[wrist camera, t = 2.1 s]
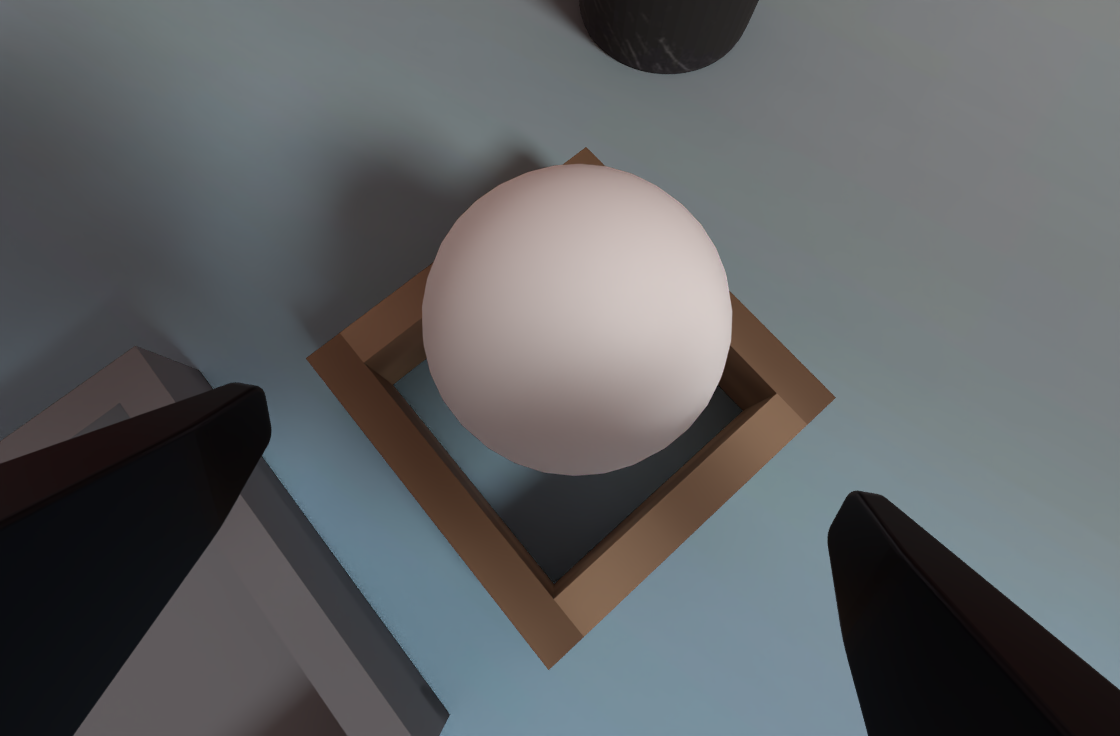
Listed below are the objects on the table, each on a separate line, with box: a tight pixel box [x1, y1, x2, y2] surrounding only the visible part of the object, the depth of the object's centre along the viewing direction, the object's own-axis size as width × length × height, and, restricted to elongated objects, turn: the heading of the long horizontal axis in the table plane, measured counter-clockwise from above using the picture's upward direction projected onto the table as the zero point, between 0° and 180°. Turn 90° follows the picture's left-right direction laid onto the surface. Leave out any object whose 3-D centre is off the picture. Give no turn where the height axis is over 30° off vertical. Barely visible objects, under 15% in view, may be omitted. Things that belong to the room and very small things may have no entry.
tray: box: [0, 346, 450, 736], centre depth 15 cm, size 16×14×3 cm
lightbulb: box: [422, 164, 732, 476], centre depth 14 cm, size 6×6×11 cm
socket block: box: [306, 147, 836, 670], centre depth 18 cm, size 11×11×3 cm
